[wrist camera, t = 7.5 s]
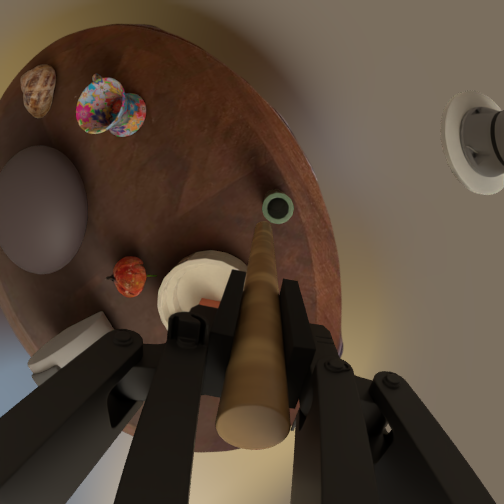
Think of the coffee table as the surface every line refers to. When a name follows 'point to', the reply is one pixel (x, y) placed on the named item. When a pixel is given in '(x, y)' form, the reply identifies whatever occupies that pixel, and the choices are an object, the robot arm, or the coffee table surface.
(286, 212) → the holder
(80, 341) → the alarm clock
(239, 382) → the stick
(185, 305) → the bowl
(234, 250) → the coffee table surface
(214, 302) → the block
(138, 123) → the mug
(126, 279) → the pomegranate
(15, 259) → the flattened ellipsoid
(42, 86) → the seashell
